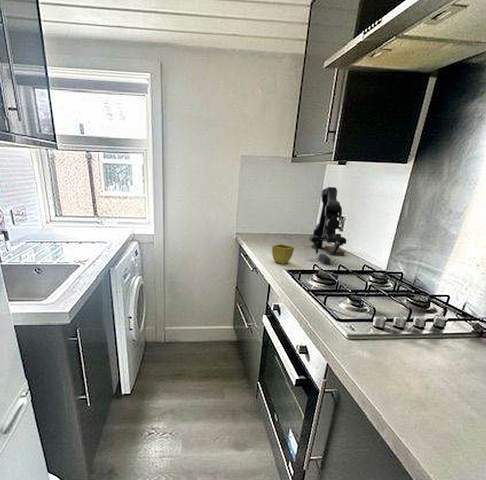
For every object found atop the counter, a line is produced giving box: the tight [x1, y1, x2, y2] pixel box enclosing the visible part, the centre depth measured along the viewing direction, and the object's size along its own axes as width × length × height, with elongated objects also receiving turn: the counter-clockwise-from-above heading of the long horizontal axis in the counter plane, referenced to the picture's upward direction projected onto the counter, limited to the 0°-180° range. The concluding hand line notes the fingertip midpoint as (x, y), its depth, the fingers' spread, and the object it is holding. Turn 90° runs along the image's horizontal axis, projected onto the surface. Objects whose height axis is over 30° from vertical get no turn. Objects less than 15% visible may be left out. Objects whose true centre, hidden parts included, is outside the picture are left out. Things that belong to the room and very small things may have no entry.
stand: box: [323, 245, 346, 257], centre depth 191 cm, size 14×8×2 cm, turn 177°
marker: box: [317, 253, 331, 265], centre depth 170 cm, size 11×3×3 cm, turn 177°
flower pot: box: [271, 243, 295, 265], centre depth 164 cm, size 9×9×9 cm
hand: (324, 254), depth 169 cm, fingers open, 9 cm apart
